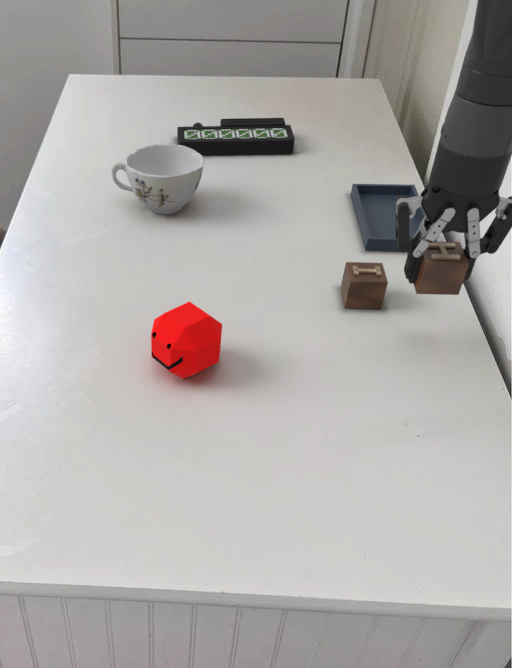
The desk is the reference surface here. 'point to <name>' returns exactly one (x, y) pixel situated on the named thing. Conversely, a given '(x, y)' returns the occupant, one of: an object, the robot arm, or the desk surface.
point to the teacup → (162, 176)
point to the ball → (186, 340)
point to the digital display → (239, 137)
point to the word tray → (382, 214)
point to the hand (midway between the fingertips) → (434, 280)
